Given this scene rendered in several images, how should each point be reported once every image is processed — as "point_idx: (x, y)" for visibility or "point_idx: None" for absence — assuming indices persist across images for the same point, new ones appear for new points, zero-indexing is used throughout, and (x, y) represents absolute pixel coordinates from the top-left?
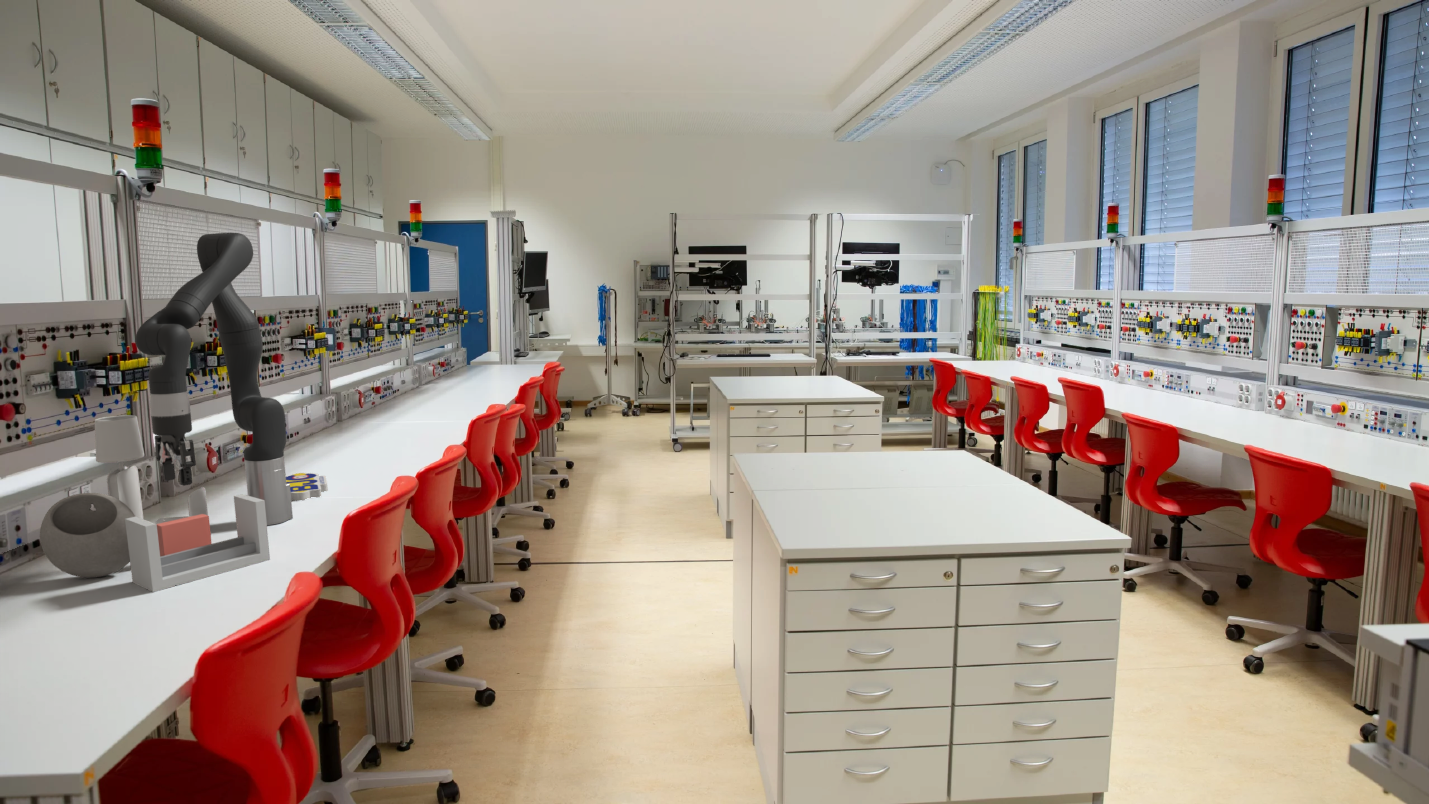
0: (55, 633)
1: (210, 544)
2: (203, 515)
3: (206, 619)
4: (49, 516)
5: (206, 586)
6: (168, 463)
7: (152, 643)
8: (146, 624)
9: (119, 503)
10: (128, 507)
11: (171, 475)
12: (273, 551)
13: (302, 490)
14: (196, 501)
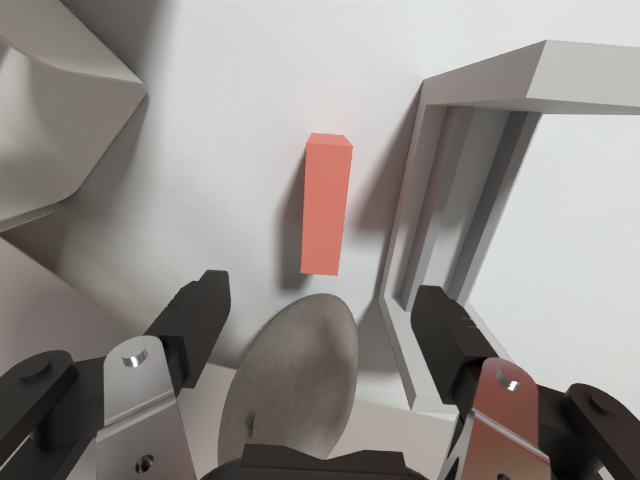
0: None
1: (440, 194)
2: (329, 152)
3: (635, 317)
4: None
5: (523, 253)
6: (178, 369)
7: (614, 372)
8: (556, 353)
9: (342, 427)
10: (341, 394)
11: (218, 297)
12: (491, 34)
13: None
14: (1, 2)
